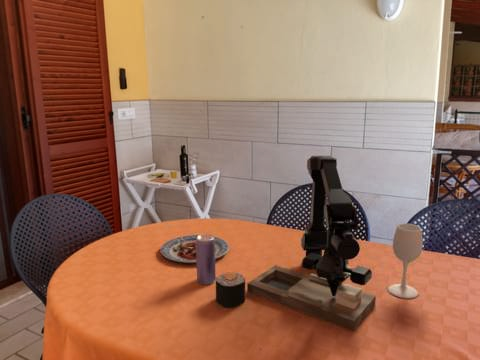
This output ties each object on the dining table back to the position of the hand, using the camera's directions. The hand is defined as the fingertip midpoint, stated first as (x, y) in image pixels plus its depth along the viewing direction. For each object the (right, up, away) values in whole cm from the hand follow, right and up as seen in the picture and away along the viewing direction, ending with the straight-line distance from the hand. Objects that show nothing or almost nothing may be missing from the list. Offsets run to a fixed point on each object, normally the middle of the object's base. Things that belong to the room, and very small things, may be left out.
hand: (334, 295), depth 118 cm
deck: (-6, -2, +5) cm, 9 cm away
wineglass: (+23, -2, +9) cm, 25 cm away
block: (+4, -1, -2) cm, 5 cm away
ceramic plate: (-44, +5, +39) cm, 59 cm away
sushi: (-30, -3, +5) cm, 30 cm away
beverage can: (-38, 0, +17) cm, 41 cm away
